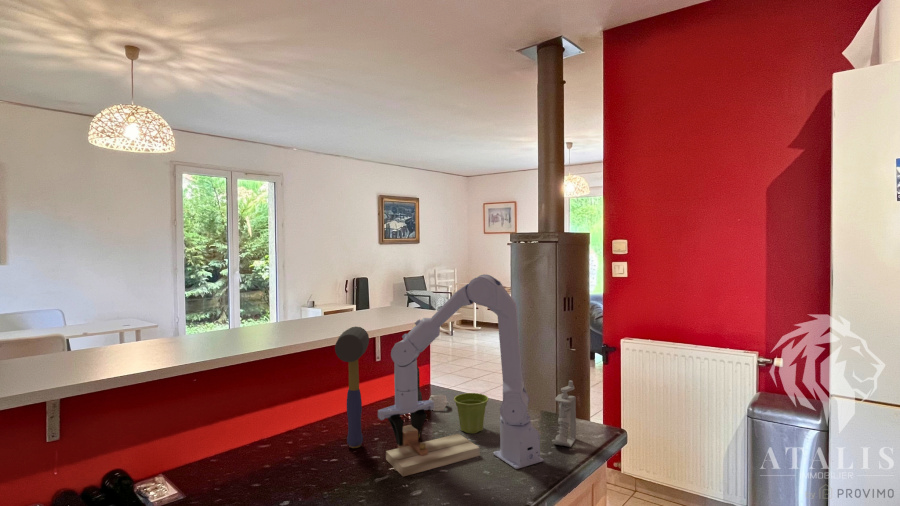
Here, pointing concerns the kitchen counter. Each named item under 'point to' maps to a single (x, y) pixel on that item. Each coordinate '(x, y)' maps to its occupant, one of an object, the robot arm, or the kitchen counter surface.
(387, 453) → the board
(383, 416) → the robot arm
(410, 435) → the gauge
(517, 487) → the kitchen counter surface
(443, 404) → the pale grey rock
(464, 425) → the plant pot
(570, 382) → the clamp
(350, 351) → the rubber mallet
